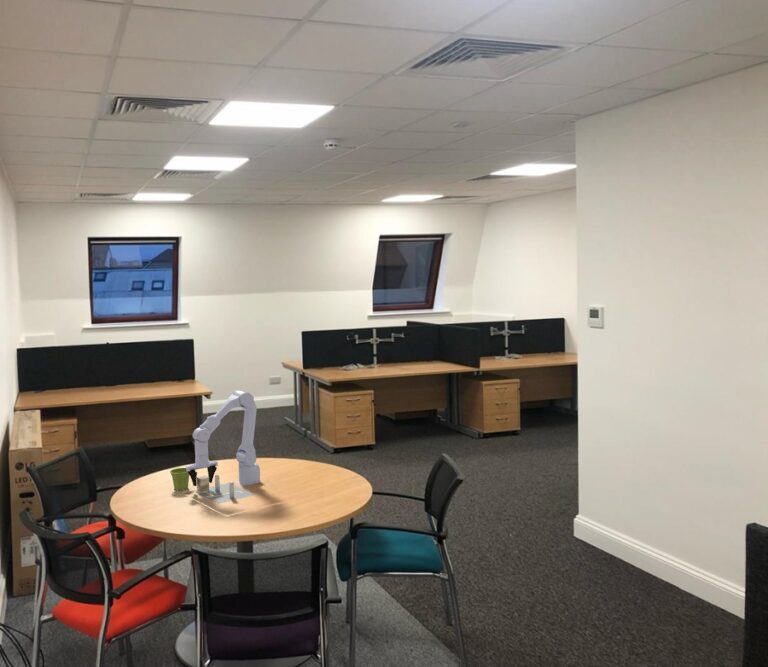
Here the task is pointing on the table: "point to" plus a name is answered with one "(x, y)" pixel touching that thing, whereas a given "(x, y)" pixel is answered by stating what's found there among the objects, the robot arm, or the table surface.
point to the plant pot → (180, 478)
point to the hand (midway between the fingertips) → (202, 484)
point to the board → (225, 492)
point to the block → (203, 483)
